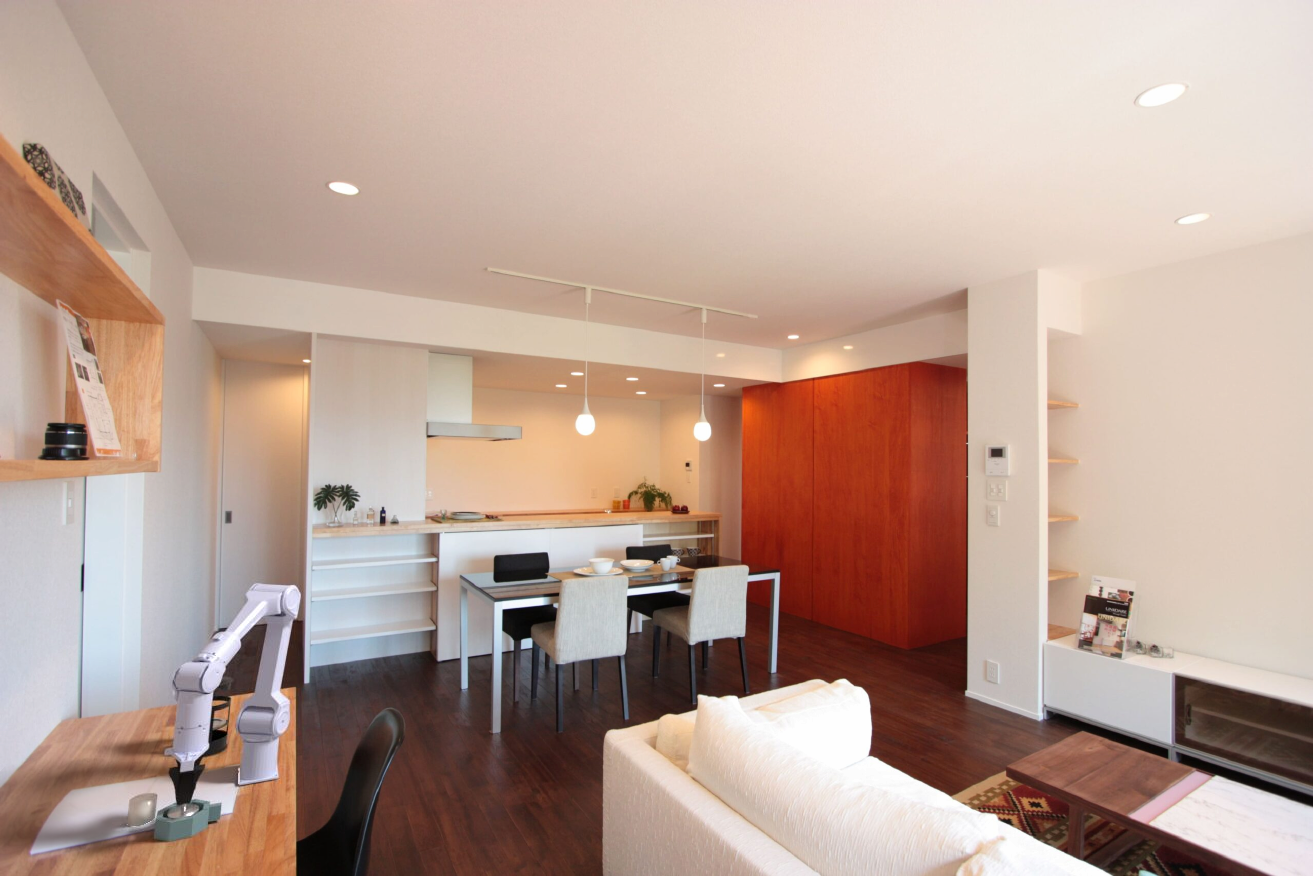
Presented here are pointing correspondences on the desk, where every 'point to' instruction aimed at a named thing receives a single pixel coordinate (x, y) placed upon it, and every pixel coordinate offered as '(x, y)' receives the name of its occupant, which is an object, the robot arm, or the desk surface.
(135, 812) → the cream rounded block
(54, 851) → the desk surface
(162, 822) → the grey-green octagonal bowl
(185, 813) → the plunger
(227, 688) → the french press
